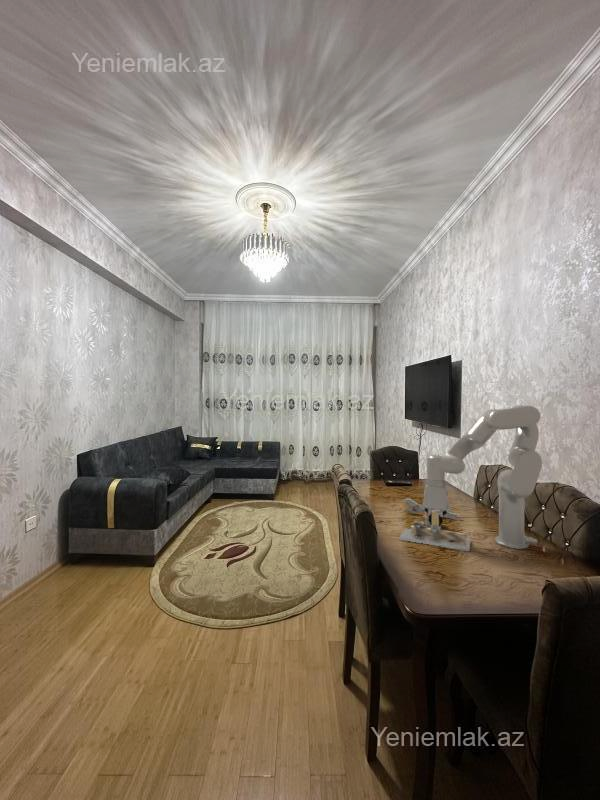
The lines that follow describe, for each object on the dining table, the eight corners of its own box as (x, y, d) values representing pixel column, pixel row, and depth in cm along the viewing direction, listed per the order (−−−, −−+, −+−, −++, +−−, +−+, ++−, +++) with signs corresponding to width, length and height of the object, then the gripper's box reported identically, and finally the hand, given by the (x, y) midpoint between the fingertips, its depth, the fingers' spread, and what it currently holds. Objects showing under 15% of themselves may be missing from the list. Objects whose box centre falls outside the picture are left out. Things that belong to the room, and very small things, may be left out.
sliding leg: (440, 533, 164) (440, 512, 164) (439, 538, 158) (439, 516, 158) (431, 532, 165) (431, 511, 166) (429, 536, 160) (429, 515, 160)
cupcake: (439, 530, 173) (439, 509, 173) (420, 526, 179) (420, 506, 179) (445, 525, 180) (445, 505, 181) (426, 521, 186) (426, 502, 186)
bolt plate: (470, 541, 159) (470, 538, 159) (469, 551, 149) (469, 547, 149) (404, 531, 172) (404, 527, 172) (399, 539, 161) (399, 536, 161)
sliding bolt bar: (466, 538, 159) (466, 527, 159) (465, 543, 153) (465, 532, 153) (411, 530, 169) (412, 519, 169) (409, 534, 164) (409, 523, 164)
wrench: (460, 526, 189) (401, 512, 201) (460, 525, 190) (401, 511, 202) (462, 511, 188) (403, 497, 200) (462, 510, 190) (403, 497, 202)
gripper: (456, 483, 163) (455, 524, 163) (418, 479, 170) (417, 519, 170) (455, 487, 156) (454, 530, 156) (415, 483, 163) (415, 524, 163)
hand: (435, 524), depth 163 cm, fingers closed on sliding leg, 3 cm apart
